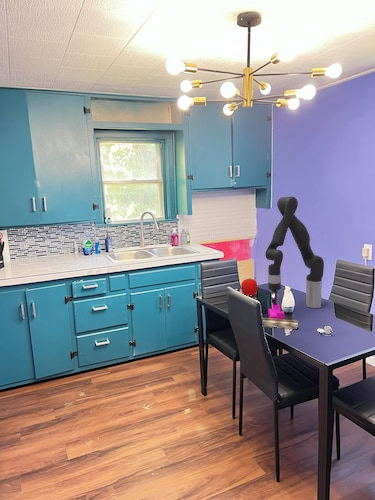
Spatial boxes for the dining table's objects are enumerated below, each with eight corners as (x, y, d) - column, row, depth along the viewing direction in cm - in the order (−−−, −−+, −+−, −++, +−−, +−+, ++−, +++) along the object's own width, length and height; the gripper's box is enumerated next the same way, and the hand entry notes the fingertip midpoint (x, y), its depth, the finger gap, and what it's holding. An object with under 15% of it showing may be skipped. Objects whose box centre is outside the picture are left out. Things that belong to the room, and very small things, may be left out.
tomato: (261, 296, 264) (261, 278, 261) (248, 299, 258) (248, 281, 255) (249, 291, 274) (249, 275, 272) (237, 295, 268) (237, 278, 266)
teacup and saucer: (314, 332, 200) (315, 325, 200) (326, 329, 203) (327, 322, 202) (326, 338, 192) (326, 331, 192) (338, 335, 195) (338, 328, 194)
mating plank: (297, 327, 207) (297, 320, 207) (297, 329, 204) (297, 323, 203) (261, 323, 214) (261, 317, 214) (260, 326, 211) (260, 320, 210)
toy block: (268, 315, 226) (268, 304, 225) (278, 315, 226) (278, 303, 224) (273, 325, 211) (273, 312, 210) (284, 325, 211) (284, 312, 210)
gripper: (279, 285, 217) (279, 312, 221) (282, 278, 229) (282, 304, 233) (266, 284, 220) (267, 311, 223) (269, 277, 232) (270, 304, 235)
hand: (274, 308), depth 228 cm, fingers closed
